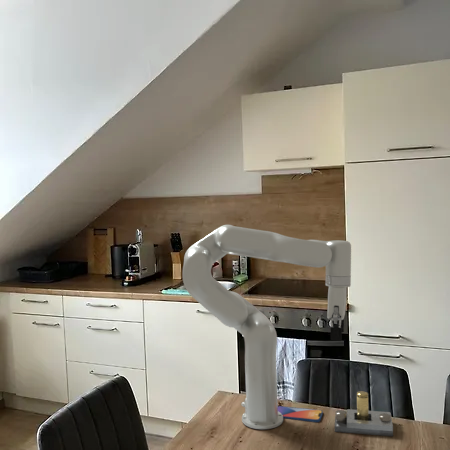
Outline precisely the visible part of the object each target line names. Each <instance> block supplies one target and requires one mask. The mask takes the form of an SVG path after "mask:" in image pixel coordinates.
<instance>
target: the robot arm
mask: <svg viewBox="0 0 450 450" xmlns="http://www.w3.org/2000/svg"><path fill="white" fill-rule="evenodd" d="M226 255H233V256H238V257H239V256H240V257H249V258H254V259H262V260H265V261H271V262H278V263H286V264H292V265H297V266H303V267H312V268H324V267H325V286H326V287H328V292H327V314H326V315H327V316H326V318H327V319H328V320H330V319H331V324H330V336H329V337H330V341H335V342H337V341H338V342H341V341H342V334H343V333H344V332H345V331H344V329H345V320H344V318H345V315H346V308H347V293H348V292H347V288H349V287H351V284H352V278H351V276H352V244H351V243H350V242H349V241H347V240H342V239H340V240H339V239H337V240H320V239H301V238H296V237H291V236H287V235H285V234H284V235H283V234H280V233H278V232H273V231H269V230H262V229H255V228H250V227H249V228H247V227H241V226H234V225H232V224H224V225H221V226H219V227H217V228H216V229H214V230H213V231H212V232H211V233H208V235H206V236H205V237H203V238H202V239H200V240H198V241H197V242H195V243H194V244H192V245H191V246H190V247H189V248H188V249H187V250H186V251H185V254H184V257H183V266H182V282H183V285H184V287H185V289H186V291H187V293H188V294H189V295H190V296H191V297H192V298H193V299H194V300H195V301H196V302H197V303H198V304H199V305H201V306H202V307H203V308H204V309H205V310H207V311H208V312H209V313H210V314H211V315H213V316H214V317H215V318H216V319H217V320H219V321H220V322H221V323H222V324H223V325H225V326H227V327H229V328H233V329H235V330H236V331H237V332H238V333H240V334H241V335H242V337H243V340H244V373H245V399H244V401H242V402H241V404H240V405H241V406H242V407H243V408H244V409H245V411H244V413H243V414H242V415H241V421H242V423H243V424H244V426H246V427H248V428H251V429H254V430H270V429H274V428H278V427H280V425H282V424H283V422H284V418H283V415H282V414H281V413H280V412H278V406H279V405H278V378H277V377H278V376H277V374H278V372H277V371H278V370H277V349H278V335H277V331H276V329H275V326H274V325H273V323H272V322H271V320H270V319H269V318H268V317H267V316H266V315H265V314H264V313H263V312H262V311H261V310H259V309H258V308H257V307H256V306H255V305H254V304H252V303H251V302H250V301H249V300H247V299H246V298H245V297H243V296H242V295H241V294H240V293H238V292H235V291H233V290H232V291H231V290H228V288H226V287H224V285H223V284H221V283H220V282H219V281H218V280H217V279H215V278H214V276H213V275H212V268H213V264H215V263H216V262H217V261H219V260H221V259H222V258H223V257H225V256H226Z"/></svg>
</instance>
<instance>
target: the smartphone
mask: <svg viewBox="0 0 450 450" xmlns="http://www.w3.org/2000/svg"><path fill="white" fill-rule="evenodd" d="M278 412H280V413H281V414H282V415H283V419H286V420H293V421H294V420H295V421H303V422H312V423H320V422H321V420H322V417H323V415H324V414H323V413H324V412H323V410H322V409H314V408H304V407H292V406H284V405H283V406H282V405H278Z"/></svg>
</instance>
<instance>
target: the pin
mask: <svg viewBox="0 0 450 450" xmlns="http://www.w3.org/2000/svg"><path fill="white" fill-rule="evenodd" d="M356 410H357V420H364V421H369V415H368V411H369V393H368V392H367V391H363V390H360V391H357V392H356Z"/></svg>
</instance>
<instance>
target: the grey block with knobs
mask: <svg viewBox="0 0 450 450" xmlns="http://www.w3.org/2000/svg"><path fill="white" fill-rule="evenodd" d="M368 415H369V421H364V420H357V409H352V408H351V409H349V408H348V409H346V410H342V409H340V410H336V411H335V416H334V432H337V433H348V434H359V435H371V436H382V437H383V436H384V437H394V425H393V418H392V414H391V412H390V411H381V410H379V411H377V410H368Z"/></svg>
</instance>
